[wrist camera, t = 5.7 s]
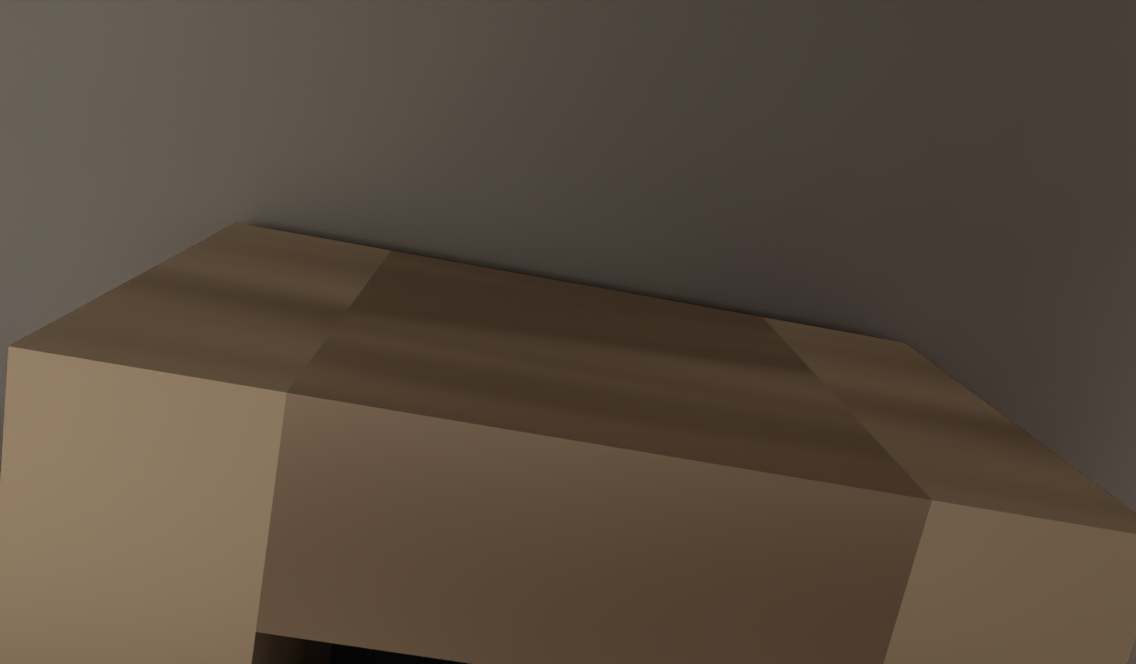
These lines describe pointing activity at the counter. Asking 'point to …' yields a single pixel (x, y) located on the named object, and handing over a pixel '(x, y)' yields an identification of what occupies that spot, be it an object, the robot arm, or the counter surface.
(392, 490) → the collar
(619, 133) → the counter surface
